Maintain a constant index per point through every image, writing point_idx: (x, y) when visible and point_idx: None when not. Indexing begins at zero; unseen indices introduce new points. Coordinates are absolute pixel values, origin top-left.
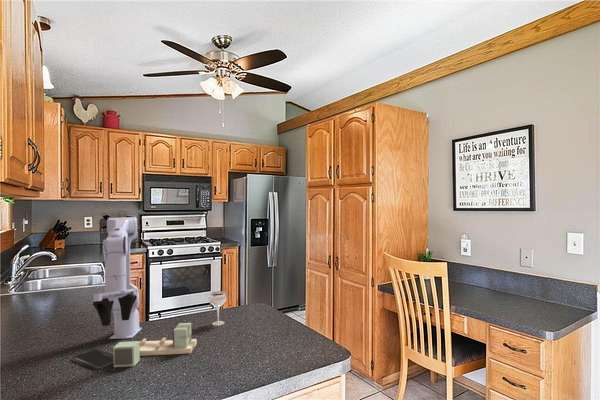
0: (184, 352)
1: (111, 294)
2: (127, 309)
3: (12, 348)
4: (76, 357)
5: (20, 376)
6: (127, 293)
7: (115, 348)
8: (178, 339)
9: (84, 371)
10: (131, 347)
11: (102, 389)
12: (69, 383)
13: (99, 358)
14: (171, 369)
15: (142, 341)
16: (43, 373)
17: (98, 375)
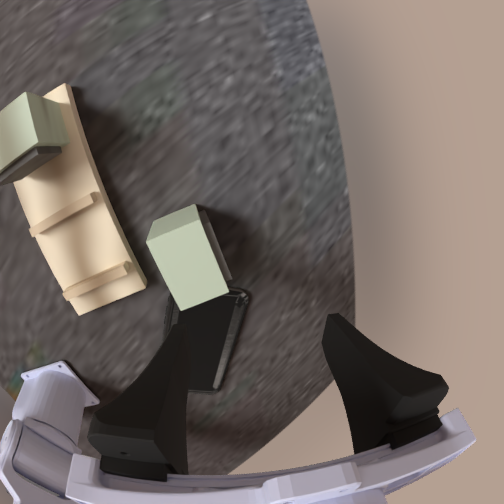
0: (74, 103)
1: (416, 454)
2: (176, 377)
3: None
4: (211, 387)
5: (298, 398)
6: (152, 489)
7: (225, 283)
8: (52, 125)
9: (258, 316)
10: (202, 226)
11: (328, 188)
12: (314, 294)
13: (196, 338)
14: (187, 65)
15: (84, 286)
16: (283, 380)
17: (269, 262)
